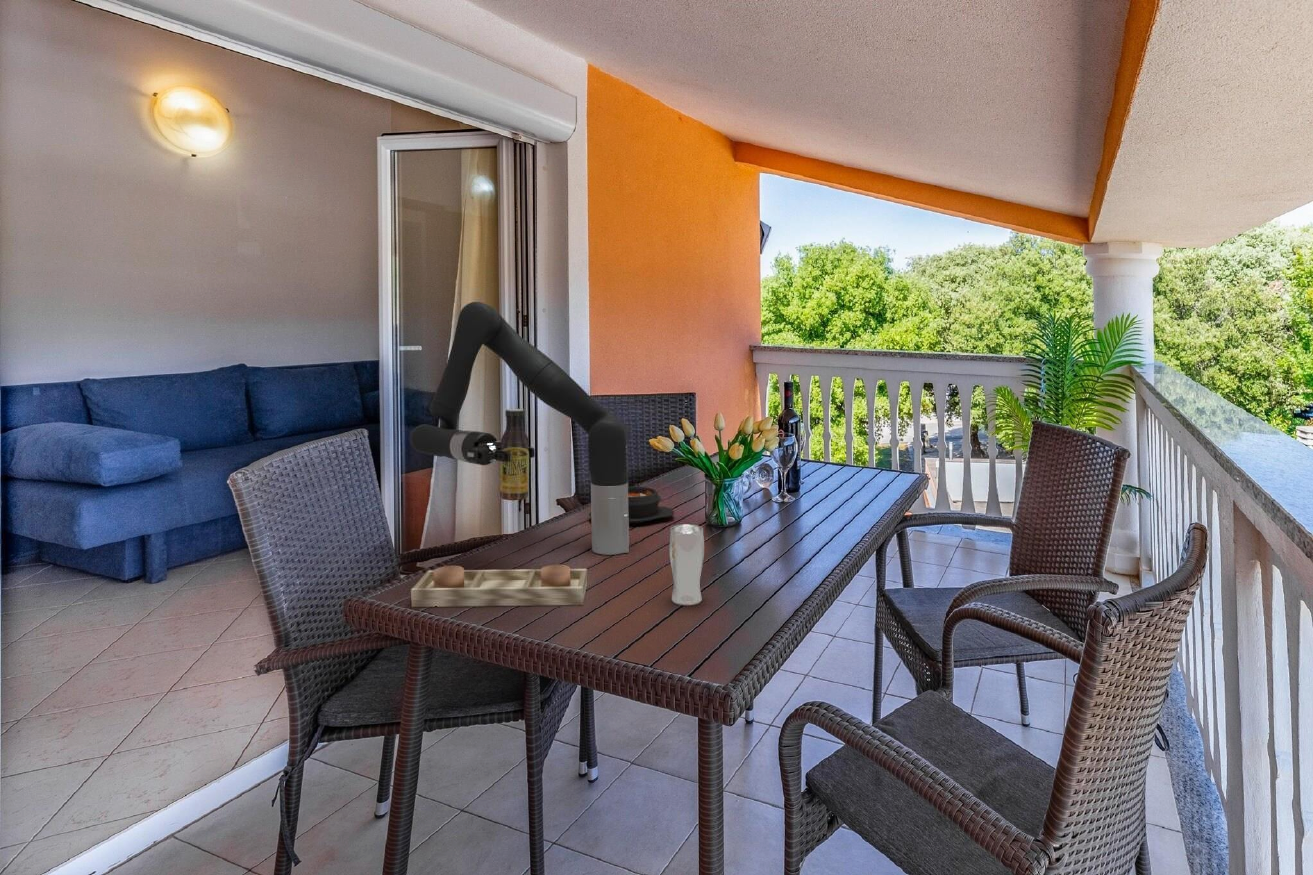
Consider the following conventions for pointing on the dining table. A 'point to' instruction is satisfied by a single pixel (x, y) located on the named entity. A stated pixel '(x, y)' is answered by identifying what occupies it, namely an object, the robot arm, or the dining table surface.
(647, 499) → the casserole
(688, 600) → the beer glass
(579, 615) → the dining table surface
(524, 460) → the sauce bottle
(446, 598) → the rail
